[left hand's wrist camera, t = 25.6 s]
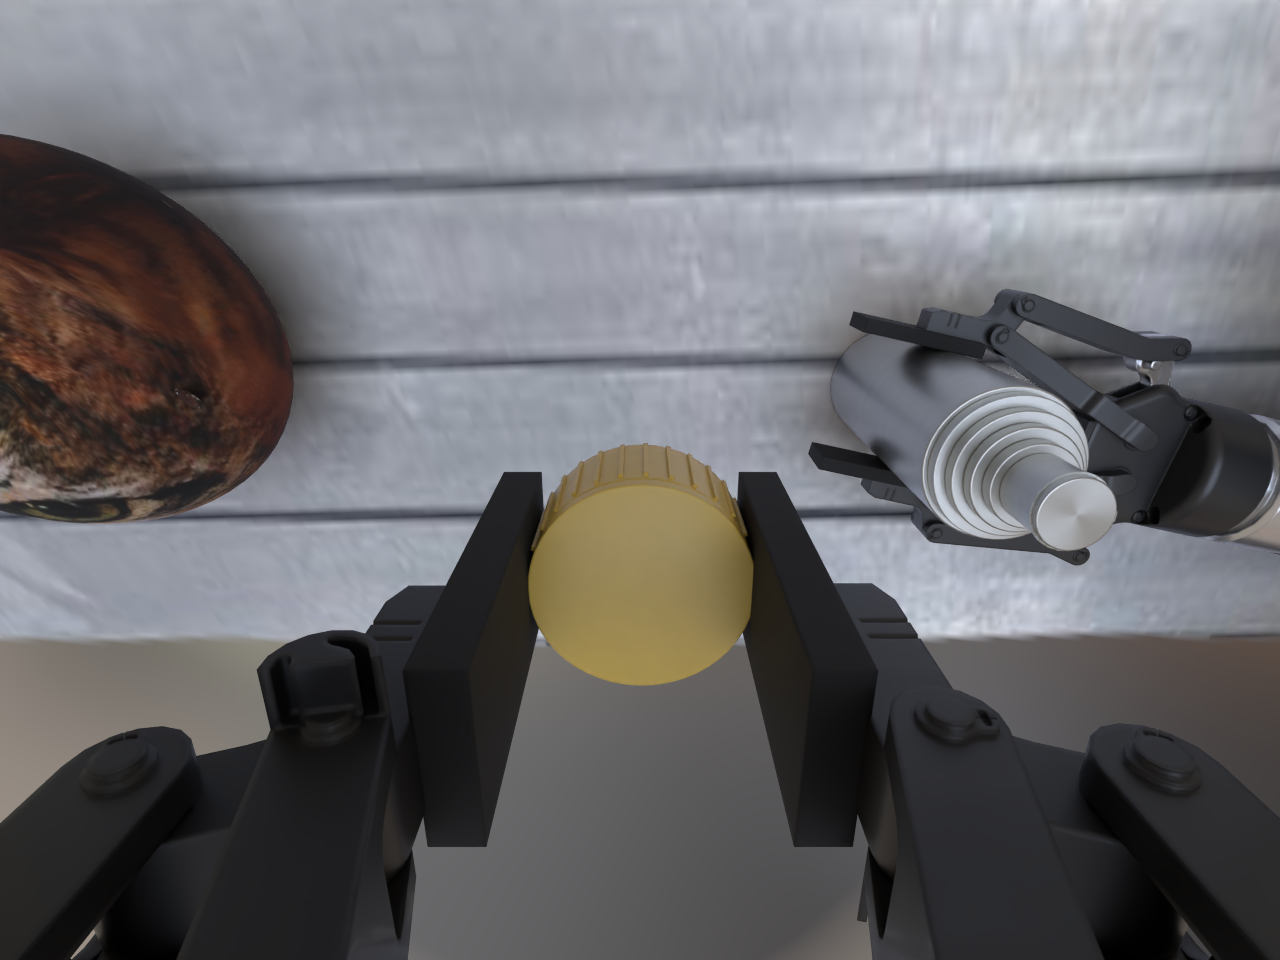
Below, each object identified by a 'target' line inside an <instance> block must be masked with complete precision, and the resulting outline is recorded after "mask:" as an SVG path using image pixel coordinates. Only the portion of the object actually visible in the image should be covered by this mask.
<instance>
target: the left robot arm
mask: <svg viewBox="0 0 1280 960" xmlns="http://www.w3.org/2000/svg"><path fill="white" fill-rule="evenodd" d="M737 503H738V506H739V509H740V512H741V515H742V518H743V521H744V524H745V527H746V530H747V534H748V536H746V540H747V543H748V546H749V549H750V552H751V556H752V559H753V562H754V568H753V585H752V600H751V614H750V619H749V621H748V623H747V625H746V627H745V629H744V631H743V636H744V640H745V644H746V648H747V653H748V657H749V661H750V665H751V669H752V673H753V678H754V681H755V686H756V690H757V694H758V698H759V703H760V707H761V711H762V715H763V719H764V723H765V727H766V732H767V736H768V740H769V744H770V748H771V752H772V757H773V761H774V765H775V769H776V773H777V777H778V782H779V786H780V790H781V794H782V798H783V802H784V806H785V811H786V815H787V819H788V823H789V827H790V832H791V836H792V840H793V844H794V847H853V841H854V834H855V828H856V821H857V814H858V816H859V819H860V822H861V825H862V827H863V830H864V833H865V836H866V839H867V841H868V844H869V846H868V852H867V859H866V865H865V872H864V878H863V884H862V891H861V897H860V904H859V911H858V918H857V920H858V921H863V922H866V921H867V916H868V919H869V929H870V939H871V949H872V958H873V960H1280V818H1279V817H1278V816H1277V815H1276V814H1275V813H1274V812H1273V811H1271V810H1270V809H1269V808H1268V807H1267V806H1266V805H1265V804H1264V803H1263V802H1262V801H1261V800H1259V799H1258V798H1257V797H1256V796H1255V795H1254V794H1253V793H1252V792H1251V791H1249V790H1248V789H1247V788H1246V787H1245V786H1244V785H1243V784H1242V783H1241V782H1240V781H1239V780H1238V779H1236V778H1235V777H1234V776H1233V775H1232V774H1231V773H1230V772H1229V771H1228V770H1227V769H1225V768H1224V767H1223V766H1222V765H1221V764H1220V763H1219V762H1217V761H1216V760H1215V759H1213V758H1212V757H1210V756H1209V755H1208V754H1206V753H1205V752H1204V751H1202V750H1201V749H1199V748H1198V747H1196V746H1194V745H1192V744H1190V743H1188V742H1186V741H1184V740H1182V739H1180V738H1178V737H1176V736H1174V735H1172V734H1170V733H1167V732H1164V731H1161V730H1156V729H1154V728H1149V727H1146V726H1141V725H1131V724H1121V723H1118V724H1113V725H1108V726H1102V727H1100V728H1099V729H1098V730H1096V731H1095V732H1094V733H1093V734H1092V735H1091V736H1090V739H1089V742H1088V746H1087V749H1086V753H1082V752H1077V751H1072V750H1068V749H1063V748H1058V747H1053V746H1049V745H1045V744H1040V743H1035V742H1032V741H1028V740H1025V739H1021V738H1018V737H1015V736H1012V734H1011V731H1010V729H1009V728H1008V726H1007V725H1006V723H1005V722H1004V720H1003V719H1002V718H1001V716H1000V715H999V714H998V713H997V712H996V711H995V710H993V709H992V708H990V707H989V706H988V705H987V704H985V703H984V702H983V701H981V700H979V699H977V698H974V697H972V696H970V695H968V694H966V693H963V692H961V691H958V690H953V688H952V687H951V685H950V684H949V682H948V680H947V679H946V678H945V676H944V674H943V673H942V671H941V670H940V668H939V667H938V665H937V664H936V662H935V660H934V659H933V657H932V656H931V654H930V653H929V651H928V650H927V648H926V647H925V645H924V644H923V642H922V640H921V639H918V634H917V633H916V631H915V630H914V628H913V627H912V625H911V623H908V621H907V617H906V616H905V614H904V613H903V611H902V610H901V608H900V607H899V605H898V603H897V602H896V600H895V599H893V598H892V597H890V596H889V595H888V594H886V593H885V592H883V591H882V590H881V589H879V588H878V587H876V586H875V585H873V584H872V583H833V581H832V580H831V578H830V576H829V574H828V572H827V570H826V568H825V566H824V564H823V562H822V560H821V558H820V556H819V554H818V552H817V550H816V548H815V546H814V544H813V542H812V541H811V539H810V537H809V535H808V533H807V531H806V529H805V527H804V525H803V523H802V521H801V519H800V517H799V515H798V513H797V511H796V509H795V507H794V505H793V504H792V502H791V500H790V498H789V496H788V494H787V492H786V490H785V488H784V486H783V484H782V482H781V480H780V478H779V476H778V474H777V472H739V479H738V498H737ZM543 511H544V508H543V489H542V472H504V473H503V475H502V477H501V479H500V481H499V483H498V485H497V487H496V489H495V491H494V493H493V495H492V497H491V499H490V501H489V503H488V504H487V506H486V508H485V510H484V512H483V514H482V516H481V518H480V520H479V522H478V524H477V526H476V528H475V530H474V532H473V534H472V536H471V538H470V540H469V541H468V543H467V545H466V547H465V549H464V551H463V553H462V555H461V557H460V559H459V561H458V563H457V565H456V567H455V569H454V571H453V573H452V575H451V577H450V579H449V580H448V582H447V584H446V586H408V587H406V588H405V589H403V590H402V591H401V592H399V593H398V594H396V595H395V596H394V597H392V598H391V599H389V600H388V601H386V602H385V604H384V605H383V607H382V609H381V610H380V612H379V613H378V615H377V616H376V618H375V619H374V621H373V625H371V626H370V627H369V629H368V630H367V632H366V633H361V632H357V631H354V630H331V631H326V632H321V633H316V634H311V635H307V636H305V637H302V638H300V639H297V640H295V641H292V642H290V643H287V644H285V645H284V646H282V647H281V648H279V649H278V650H276V651H275V652H273V653H272V654H270V655H269V656H268V657H267V658H266V659H265V660H264V661H263V663H262V664H261V665H260V666H259V668H258V669H257V673H258V677H259V681H260V686H261V690H262V694H263V699H264V703H265V707H266V711H267V716H268V720H269V724H270V729H271V730H270V733H269V735H268V737H267V739H266V740H263V741H259V742H256V743H252V744H249V745H245V746H241V747H236V748H231V749H227V750H222V751H218V752H213V753H208V754H204V755H199V756H196V754H195V751H194V747H193V744H192V740H191V738H189V737H188V736H187V735H186V734H185V733H184V732H183V731H182V730H179V729H174V728H169V727H163V726H161V727H150V728H140V729H136V730H132V731H128V732H126V733H121V734H118V735H115V736H112V737H110V738H108V739H106V740H104V741H102V742H100V743H98V744H96V745H94V746H92V747H89V748H87V749H85V750H84V751H82V752H81V753H80V754H78V755H77V756H76V757H74V758H73V759H72V760H70V761H69V762H67V763H66V764H65V765H63V766H62V767H61V768H60V769H59V770H58V771H57V772H55V773H54V774H53V775H52V776H51V777H50V778H49V779H48V780H47V781H46V782H45V783H44V784H42V785H41V786H40V787H39V788H38V789H37V790H36V791H35V792H34V793H33V794H32V795H30V796H29V797H28V798H27V799H26V800H25V801H24V802H23V803H22V804H21V805H20V806H19V807H17V808H16V809H15V810H14V811H13V812H12V813H11V814H10V815H9V816H8V817H7V818H6V819H4V820H3V821H2V822H1V823H0V960H71V959H70V958H71V957H72V955H73V954H74V953H75V951H76V950H77V949H78V948H79V946H80V945H81V944H82V943H83V941H84V940H85V939H86V938H87V936H88V935H89V934H90V933H91V931H92V930H93V929H94V931H95V933H96V934H95V935H94V936H93V937H92V939H91V940H90V941H89V943H88V944H87V945H86V946H85V948H84V949H82V950H81V951H80V952H79V953H78V954H77V955H76V956H75V957H74V958H73V959H72V960H408V950H409V940H410V931H411V921H412V912H413V902H414V892H415V883H416V873H415V866H414V859H413V852H412V846H413V843H414V841H415V838H416V835H417V832H418V830H419V827H420V824H421V821H422V818H424V824H425V831H426V838H427V845H428V847H486V846H487V842H488V838H489V833H490V829H491V825H492V821H493V817H494V813H495V808H496V804H497V800H498V796H499V792H500V787H501V783H502V779H503V775H504V771H505V767H506V763H507V758H508V754H509V750H510V746H511V742H512V738H513V734H514V729H515V725H516V721H517V717H518V713H519V708H520V704H521V700H522V696H523V692H524V688H525V683H526V679H527V675H528V671H529V667H530V663H531V659H532V654H533V650H534V646H535V642H536V638H537V634H538V629H539V627H538V625H537V623H536V621H535V619H534V616H533V613H532V610H531V606H530V603H529V591H528V573H529V567H530V562H531V559H532V556H533V553H534V551H531V547H532V544H533V541H534V538H535V535H536V532H537V528H538V525H539V522H540V519H541V516H542V513H543ZM1188 926H1189V927H1190V928H1191V929H1192V931H1193V932H1194V933H1195V934H1196V936H1197V937H1198V938H1199V939H1200V941H1201V942H1202V943H1203V944H1204V946H1205V947H1206V948H1207V949H1208V950H1209V952H1210V953H1211V954H1212V956H1211V957H1210V956H1208V955H1207V954H1206V953H1205V952H1204V951H1203V950H1202V949H1201V948H1200V947H1199V946H1198V945H1197V944H1196V943H1195V942H1194V940H1193V939H1192V938H1191V936H1190V935H1189V934H1188V933H1187V931H1186V930H1187V927H1188Z"/></svg>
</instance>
